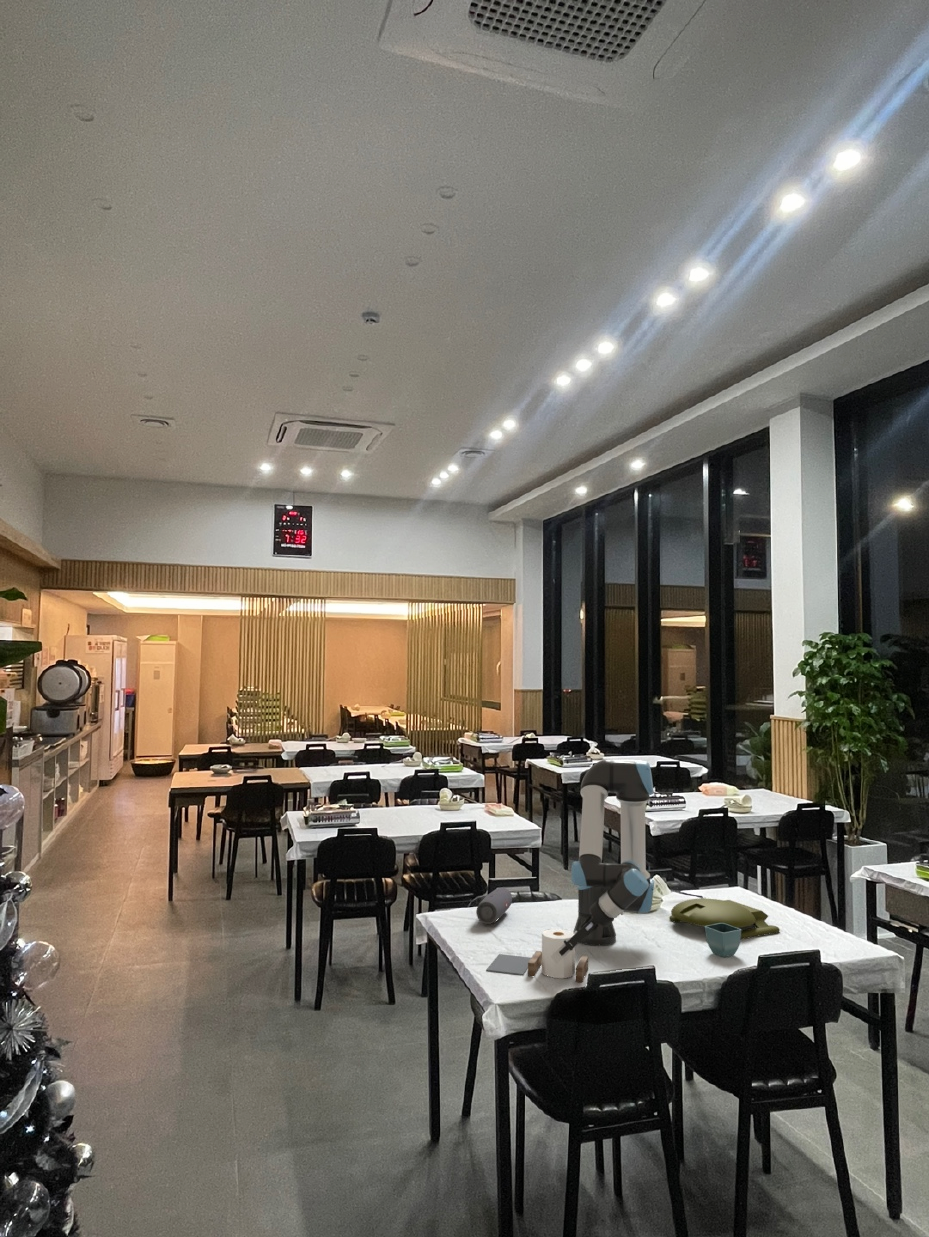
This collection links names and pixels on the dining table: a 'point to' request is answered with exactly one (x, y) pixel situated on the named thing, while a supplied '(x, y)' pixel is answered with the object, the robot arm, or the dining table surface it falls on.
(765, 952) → the dining table surface
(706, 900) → the spaceship
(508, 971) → the mat
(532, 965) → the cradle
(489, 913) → the bluetooth speaker
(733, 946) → the flower pot
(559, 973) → the toilet paper
